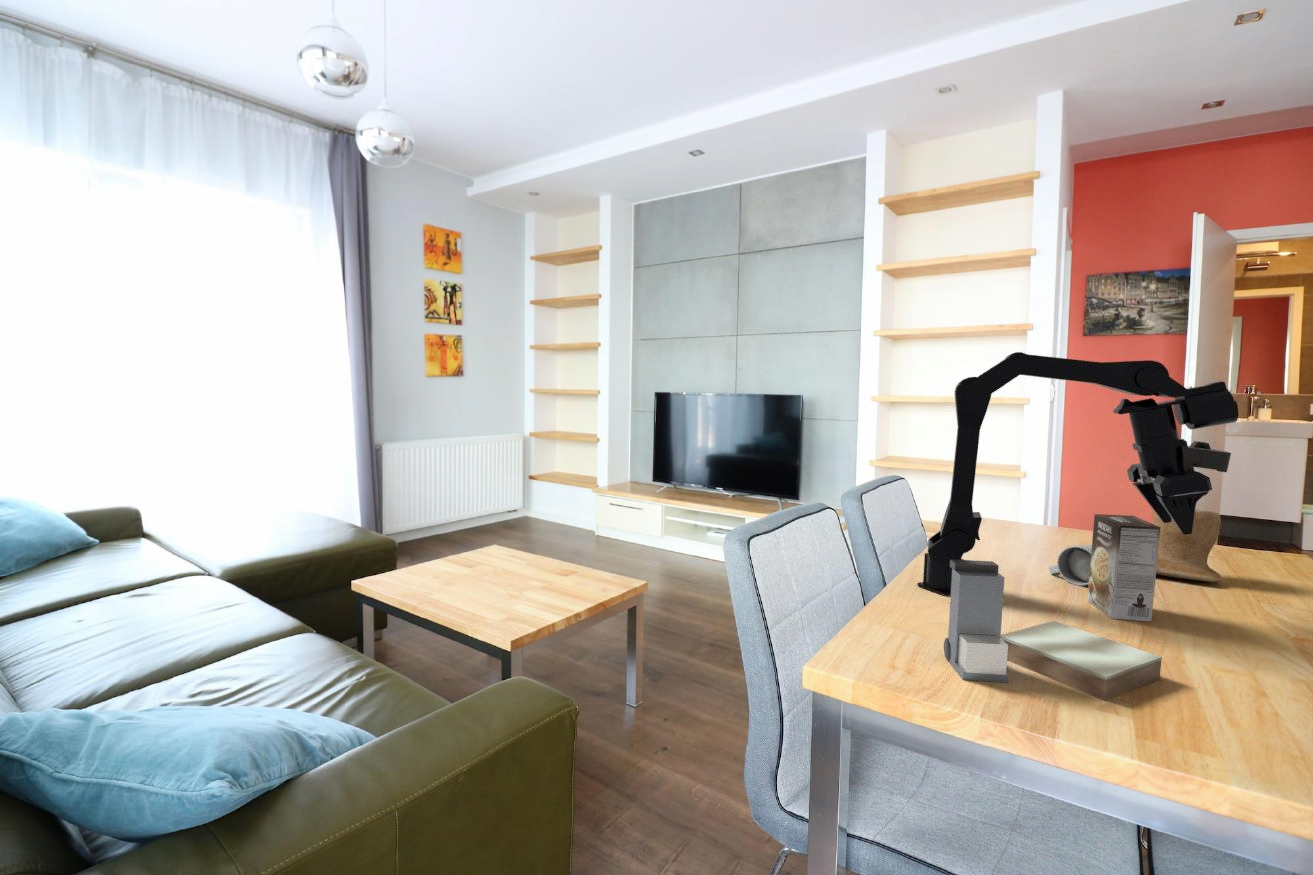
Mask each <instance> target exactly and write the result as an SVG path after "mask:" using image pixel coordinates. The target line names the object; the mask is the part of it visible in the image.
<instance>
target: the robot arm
mask: <svg viewBox="0 0 1313 875" xmlns="http://www.w3.org/2000/svg"><path fill="white" fill-rule="evenodd" d="M1019 376H1027V377H1034V378H1035V377H1037V378H1041V379H1043V378H1044V379H1050V380H1051V379H1052V380H1053V379H1054V380H1059V381H1067V382H1077V383H1083V384H1084V383H1086V384H1093V385H1096V386H1100V387H1103V388H1106V389H1109V390H1113V391H1116V392H1119V393H1123V394H1126V395H1131V396H1140V397H1141V396H1143V397H1147V396H1148V397H1151V396H1155V397H1159V398H1174V399H1172V400H1168V401H1167V400H1166V401H1161V402H1157V401H1156V400H1155V399H1154V398H1144V399H1139V400H1135V401H1131V400H1129V399H1128V398H1121V401H1120V403H1118V405H1117V406H1116V407H1115V408H1114V409H1113V411H1112V412H1113V414H1117V415H1126V414H1128V415H1129V420H1130V424H1131V425H1130V426H1131V429H1132V433H1133V438H1134V443H1132V448H1133V450H1135V451H1136V452H1137V455H1138V458H1139V460H1138V461H1139V463H1133V464H1131V465H1130V466H1129V467H1128V469H1127V471H1126V472H1127V476H1128V481H1130V482H1131V483H1132V485H1133V486H1134V487H1135V489H1136V490H1137V491H1138V493H1139V494H1140V495H1141V496H1142V498H1143V499H1144V500H1145V501H1146V502H1147V503H1148V504H1149V506H1150V508H1152V510H1153V511H1154V514H1155V513H1156V514H1157V515H1158V516H1159V518H1160V519H1161V520H1162V522H1164V523H1170V522H1171V521H1172V519H1173V521H1174V522H1175V524H1176V525H1177V527H1178V528H1179V529H1180V531H1181V532H1182V534H1184V535H1188V534H1192V530H1193V522H1194V514H1195V508H1196V507H1197V503H1198V501H1199V500H1200V499H1201V498H1203V497H1204V496H1207V495H1208V494H1209V492H1210V491H1212V490H1213V487H1212V482H1211V478H1210V477H1209V476H1208V475H1205V474H1203V473H1202V472H1200V471H1197V470H1195V468H1201V469H1206V470H1207V469H1208V470H1214V471H1215V470H1216V471H1217V472H1221V473H1227V472H1228V470H1229V464H1230V459H1231V456H1232V455H1231V454H1232V452H1229V451H1225V450H1219V449H1215V448H1214V449H1212V448H1211V446H1210V443H1209V442H1205V441H1197V440H1194V441H1193V442H1192V443H1191V444H1190V445H1189V444H1188V442H1187V440H1186V439H1184V438H1180V436H1179V435H1180V434H1179V432H1178V428H1177V423H1178V424H1179V425H1181V426H1183V425H1185V426H1186V427H1187V429H1189V430H1198V429H1202V428H1208V427H1215V426H1221V425H1227V424H1233V423H1236V422H1237V421H1238V419H1239V406H1238V403H1237V401H1236V400H1235V399H1234V397H1233V394H1232V393H1231V392H1230V390H1229V389H1228V388H1227V384H1226V382H1225V381H1213V382H1209V383H1207V384H1204V385H1200V386H1194V387H1190V388H1189V387H1188V388H1186V387H1185V386H1184V385H1183V384H1181V383H1179V382H1177V381H1176V380H1175V379H1174V378H1172V377H1171V376H1170V373H1169V370H1168V368H1166V367H1165V365H1164V364H1163V363H1161V362H1159V361H1157V360H1150V359H1148V360H1124V361H1123V360H1122V361H1106V362H1105V361H1103V362H1102V361H1101V362H1100V361H1091V360H1090V361H1089V360H1083V359H1081V360H1080V359H1074V358H1073V359H1072V358H1065V357H1064V358H1062V357H1054V356H1048V355H1047V356H1045V355H1038V354H1037V355H1036V354H1029V353H1025V352H1021V351H1017V352H1013V353H1010V354H1008V355H1007V356H1006V357H1005V358H1004V359H1003V360H1001V361H1000V362H998V363H997V364H995V365H993V366H992V367H990V368H989V369H987V370H986V371H984V372H983V373H982V374H979V375H978V376H969V377H966V378H963V379H962V380H960V381H959V382H958V383H957V384H956V386H955V389H954V404H955V413H956V414H955V415H956V421H957V422H956V423H957V424H956V425H957V429H956V430H957V431H956V439H955V441H956V442H955V449H954V450H955V451H954V459H953V467H952V468H953V469H952V470H953V471H952V477H951V480H952V481H951V487H950V498H949V501H948V504H947V506H946V509H945V513H944V515H943V519H942V522H941V525H940V530H939V531H937V532H936V533H935V534H934V535H932V536H931V537H930V538H928V539H927V552H925V553H924V561H923V562H924V563H923V580H922V581H921V582H920V581H919V582H917V583H916V584H917V587H921V588H923V589H925V590H928V591H932V592H934V593H937V594H940V595H941V596H942V595H943V596H951V582H952V568H951V567H950V559H951V560H965V559H964V558H963V556H964V554H967V553H968V552H970V551H971V550H973V548H974V547H975V545H976V540H977V541H980V540H981V538H980V535H979V531H980V526H981V524H982V515H981V512H979V511H974V510H973V498H974V490H975V481H976V469H977V460H978V451H979V443H980V442H979V441H980V434H981V433H980V432H981V428H982V424H983V422H984V420H985V417H986V414H987V411H988V408H989V404H990V401H991V398H992V394H993V393H995V392H996V391H999V390H1000V389H1002V387H1004V386H1005V385H1007V384H1008V383H1010V382H1012V380H1015V379H1016V378H1018V377H1019ZM1176 421H1177V422H1176Z"/></svg>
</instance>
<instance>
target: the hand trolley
mask: <svg viewBox="0 0 1313 875" xmlns="http://www.w3.org/2000/svg"><path fill="white" fill-rule="evenodd" d="M950 567H951V568H952V582H951V595H950V599H949V600H950V602H949V618H948V636H947V637H946V638H945V639H944V642H943V652H944V657H945V659H946V660H947V661H949V662H948V663H949V664H950V666H951V667H952V668H953V669H954V670H955V672H956V673H957V675H958V676H959V677H960V678H961V680H965V681H979V682H981V681H983V682H993V683H994V682H995V683H1009V674H1008V672H1007V666H1008V665H1007V663H1008V660H1007V653H1008V644H1006V643H1005V642H1004V641H1003V640H1002V639H1001V638H1000V637H1001V635H1002V633H1001V632H1002V620H1003V608H1004V607H1003V606H1004V593H1005V591H1004V590H1005V588H1004V587H1005V578H1006V577H1005V576H1003V575H1002V574H1000V573H999V567H1000V566H999V564H997V563H996V562H994V561H992V560H991V561H989V560H973V559H972V560H967V559H964V560H951V559H950Z"/></svg>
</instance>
